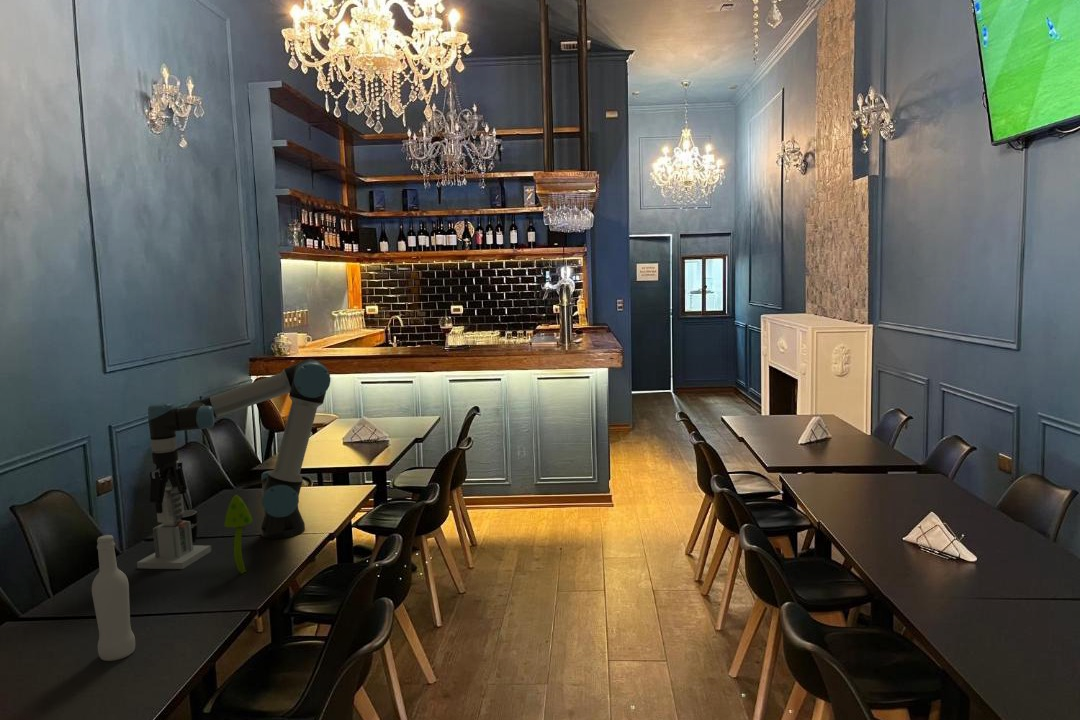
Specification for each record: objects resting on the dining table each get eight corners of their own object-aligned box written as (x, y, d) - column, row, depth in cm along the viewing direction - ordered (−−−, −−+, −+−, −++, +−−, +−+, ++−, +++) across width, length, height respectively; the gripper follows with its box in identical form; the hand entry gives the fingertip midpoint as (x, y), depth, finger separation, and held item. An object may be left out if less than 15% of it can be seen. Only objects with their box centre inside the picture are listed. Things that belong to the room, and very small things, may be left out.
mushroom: (263, 569, 244) (256, 492, 242) (242, 578, 237) (235, 499, 234) (243, 566, 248) (236, 490, 245) (222, 575, 240) (215, 497, 238)
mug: (192, 545, 271) (189, 517, 269) (166, 546, 271) (164, 518, 270) (207, 534, 282) (205, 507, 281) (183, 534, 283) (181, 507, 282)
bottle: (108, 647, 194) (95, 532, 191) (141, 645, 195) (129, 529, 192) (92, 663, 186) (78, 543, 183) (127, 660, 187) (114, 540, 184)
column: (186, 551, 258) (179, 486, 256) (178, 555, 254) (172, 490, 252) (172, 550, 259) (166, 486, 257) (165, 555, 255) (158, 490, 252)
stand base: (211, 551, 263) (207, 515, 262) (182, 568, 248) (179, 530, 246) (168, 550, 266) (164, 515, 265) (137, 568, 250) (133, 530, 249)
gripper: (174, 443, 264) (180, 507, 266) (132, 458, 243) (139, 528, 245) (194, 443, 263) (200, 507, 265) (153, 458, 242) (160, 528, 244)
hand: (171, 517), depth 255 cm, fingers open, 9 cm apart
